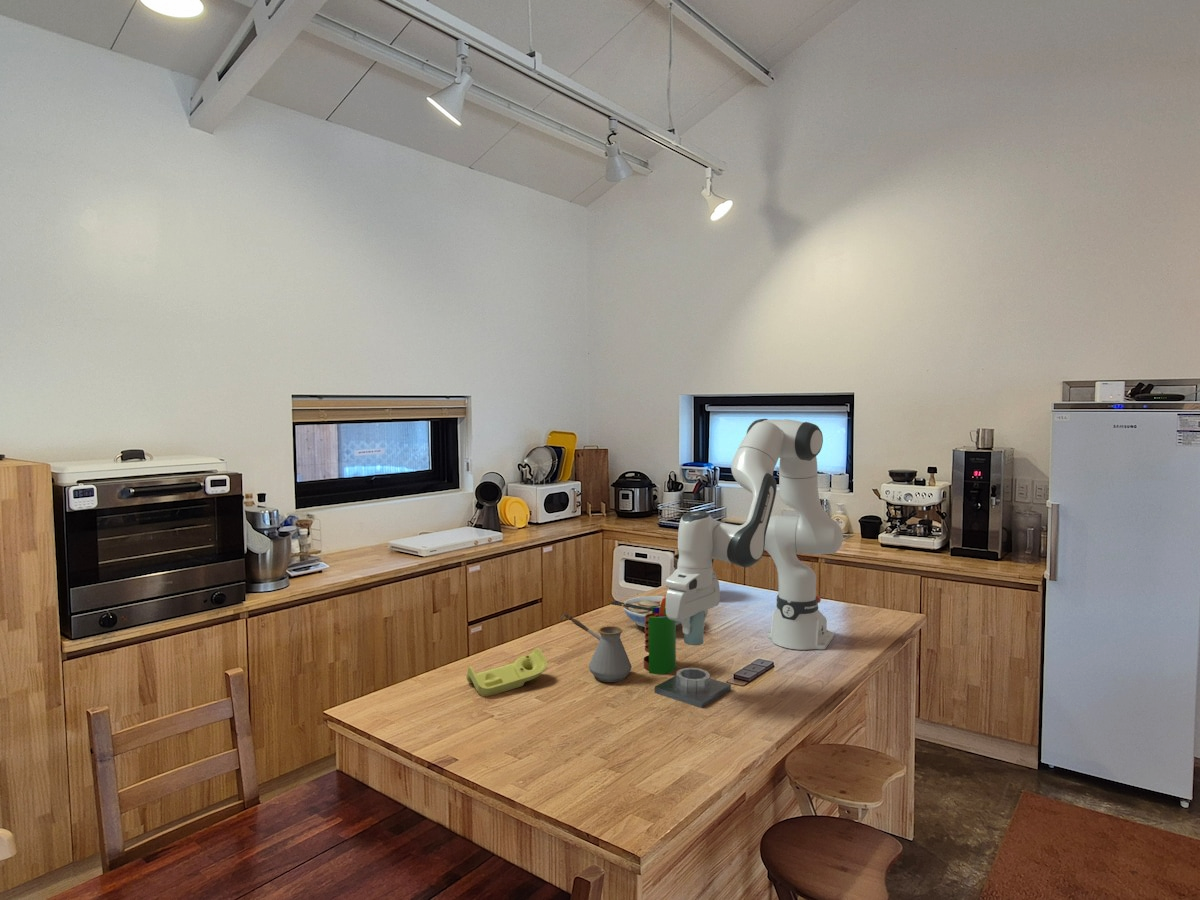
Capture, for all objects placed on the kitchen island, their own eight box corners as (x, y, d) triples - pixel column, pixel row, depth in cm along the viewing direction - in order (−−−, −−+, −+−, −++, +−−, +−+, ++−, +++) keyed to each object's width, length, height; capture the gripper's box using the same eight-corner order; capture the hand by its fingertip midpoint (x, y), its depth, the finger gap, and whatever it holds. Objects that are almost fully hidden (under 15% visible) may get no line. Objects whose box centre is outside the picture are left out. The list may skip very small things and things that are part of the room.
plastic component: (481, 690, 177) (467, 662, 184) (479, 711, 180) (465, 682, 188) (552, 669, 187) (536, 643, 194) (549, 689, 190) (533, 663, 198)
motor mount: (684, 676, 193) (685, 660, 192) (730, 690, 184) (731, 673, 183) (654, 692, 182) (654, 675, 182) (701, 707, 173) (701, 689, 173)
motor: (641, 661, 204) (641, 592, 202) (672, 660, 204) (672, 591, 203) (646, 674, 194) (647, 602, 192) (679, 673, 194) (679, 601, 193)
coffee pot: (639, 674, 194) (639, 620, 193) (617, 688, 184) (618, 631, 183) (573, 658, 205) (573, 607, 204) (550, 671, 195) (550, 617, 194)
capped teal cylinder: (690, 637, 185) (691, 601, 184) (706, 641, 182) (707, 605, 181) (680, 642, 181) (681, 605, 181) (696, 646, 178) (697, 609, 178)
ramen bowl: (706, 624, 237) (706, 600, 236) (675, 644, 218) (675, 618, 217) (640, 612, 250) (640, 589, 250) (605, 629, 231) (605, 605, 230)
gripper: (705, 567, 191) (704, 618, 191) (661, 581, 175) (660, 637, 176) (726, 571, 186) (725, 623, 187) (683, 586, 171) (682, 642, 172)
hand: (693, 630), depth 181 cm, fingers closed on capped teal cylinder, 5 cm apart
